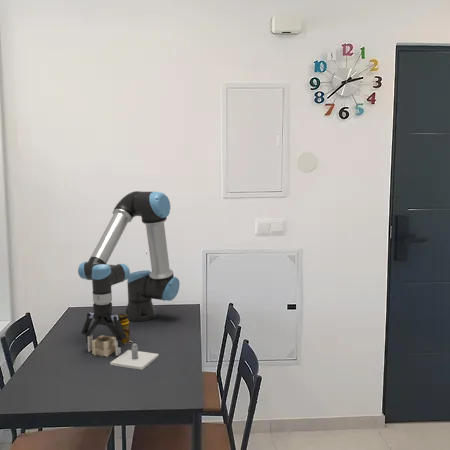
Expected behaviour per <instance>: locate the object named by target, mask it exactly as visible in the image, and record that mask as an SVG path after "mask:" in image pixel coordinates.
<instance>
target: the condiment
mask: <svg viewBox="0 0 450 450" xmlns="http://www.w3.org/2000/svg"><path fill="white" fill-rule="evenodd" d="M118 315H119V320H120V322H121V325H122V327H123V329H124V332H125V334H126V337H125V338H124V339H122V344H125V343H129V342H132V343H131V344H134V341H132V340H131V337H130V335H131V334H130V320H128V315H126V314H125V313H122V314H121V313H120V314H118ZM115 327H116V326H115ZM116 340H117V339H116ZM129 344H130V343H129ZM125 345H126V344H125Z"/></svg>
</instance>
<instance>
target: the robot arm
mask: <svg viewBox="0 0 450 450" xmlns="http://www.w3.org/2000/svg"><path fill="white" fill-rule="evenodd" d="M170 213H171V202H170V198H169V197H168V196H167V194H166V193H164V192H162V191H161V192H160V191H138V190H136V191H132V192H129V193H128V194H126V195H125V196H122V198H121V199H120V200H119V201H118V202H117V204H116V205H115V207H114V208H113V210H112V216H111V219H110V220H109V222H108V224H107V226H106V228H105V230H104V231H103V233H102V235H101V237H100V239H99V240H98V242H97V244H96V246H95V248H94V250H93V252H92V253H91V255H90V257H89V259H88V261H82V262H81V263H80V264H79V266H78V270H77V275H78V276H79V278H81V279H82V280H87V281H91V283H92V285H91V286H92V302H93V304H92V307H93V308H92V309H93V311H90V312H88V313H87V314H86V320H85V323H84V324H83V328H82V330H81V334H82V335H85V343H87V351H88V353H90V352H92V341H93V340H94V335H93V332H94V331H95V329H96V328H97V326H106V327H107V328H108V329H109V330H110V331H111V333H112V335H113V337H116V339H117V340H115V348H116V351H115V356H116V357H119V356H120V355H122V354H121V353H122V352H121V351H122V346H123V345H122V339H124V338H125V337H126V334H125V332H124V329H123V327H122V325H121V322H120V320H119V314H115V315H113V313H112V312H113V302H112V301H113V297H112V296H113V295H112V292H113V291H112V286H115V285H116V284H120V283H123V282H125V281H126V280H127V282H126V283H127V299H128V300H127V306H126V309H125V312H124V314H126V315H128V321H129V322H130V321H131V322H144V321H146V322H147V321H150V320H152V319H154V318H156V309H155V307H154V305H153V301H152V300H157V301H158V300H159V301H164V302H165V301H168V302H169V301H173V300H174V299H175V298H176V297H177V295H178V293H179V290H180V286H181V285H180V280H179V278H178V277H176V276H174V271H173V270H172V269H171V267H170V262H169V252H168V246H167V238H166V237H167V235H166V228H165V222H166V221H167V217H169V215H170ZM135 217H141V218H140V219H141V222H142V223H143V224H144V225H145V230H146V237H147V245H148V251H149V259H150V260H149V261H150V267H151V270H146V269H145V270H144V269H143V270H138V271H134V272H131V270H130V268H129V266H128V265H127V264H125V263H118V264H107V263H108V262H109V260H110V258H111V256H112V254H113V253H114V250H115V248H116V246H117V244H118V243H119V240H120V239H121V237H122V234H123V233H124V231H125V229H126V228H127V225H128V223H131V222H132V220H133V219H134V218H135ZM93 318H94V321H93ZM92 321H93V322H92ZM91 323H92V325H91ZM115 326H116V327H115Z"/></svg>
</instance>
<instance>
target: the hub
mask: <svg viewBox="0 0 450 450" xmlns="http://www.w3.org/2000/svg"><path fill="white" fill-rule="evenodd" d="M159 357H160V356H159V353H153V352H147V351H140V350H139V349H138V344H137V343H134V342H133V343H131V349H127V350H126V351H124V352H123V353H122V354H119V355H118V356H116V358H114V359H113V360H112V361H110V362H109V365H110V366H113V365H114V366H115V367H121V368H127V369H134V370H135V369H136V370H144V369H145V368H146V367H147V366H149V365H150V364H151V363H153V362H154V361H155V360H157V358H159Z"/></svg>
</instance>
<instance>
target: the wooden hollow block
mask: <svg viewBox="0 0 450 450" xmlns="http://www.w3.org/2000/svg"><path fill="white" fill-rule="evenodd" d="M115 340H116V337H115V336H109V335H103V334H102V335H99V336H98V337H96V338H93V341H92V351H91V353H92V354H94V355H93V356H96V355H100V356H99V357H103V356H106V357H105V358H108V357H110V356H111V355H113V354H114V353H116V348H115ZM113 352H114V353H113ZM112 353H113V354H112ZM110 354H111V355H110ZM109 355H110V356H109Z"/></svg>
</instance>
